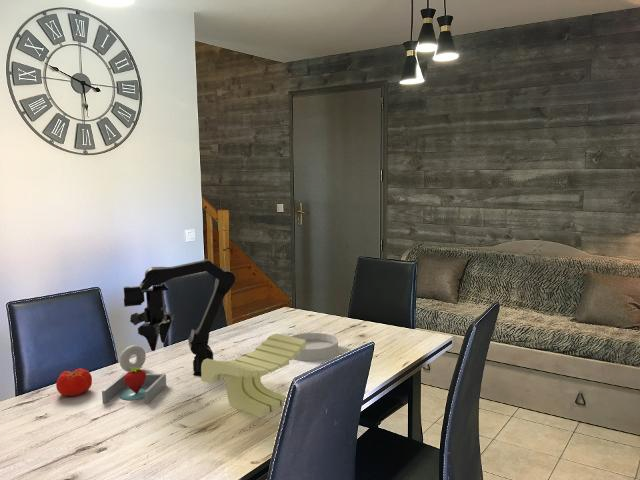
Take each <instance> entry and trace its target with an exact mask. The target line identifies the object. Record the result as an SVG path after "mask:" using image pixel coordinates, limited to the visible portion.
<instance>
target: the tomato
mask: <svg viewBox="0 0 640 480" xmlns="http://www.w3.org/2000/svg"><path fill="white" fill-rule="evenodd" d="M55 384H56V385H55V387H56V388H55V389H56V390H57V393H59V394H60V395H61V396H65V397H66V396H67V397H69V396H71V397H75V396H77V397H78V396H79V395H81V394H82V393H85V392H87V391H88V390H89V389H90V388H91V387H92V384H93V377H92V374H91V373H90V371H89V370H87V369H84V368H76V369H74V370H73V371H71V370H70V371H69V370H65V371H63V372H61V373H60V375H59V377H58V378H57V380H56V383H55Z"/></svg>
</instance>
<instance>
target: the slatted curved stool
mask: <svg viewBox="0 0 640 480" xmlns="http://www.w3.org/2000/svg"><path fill="white" fill-rule="evenodd" d="M305 348H306V340H304V339H299V338H295V337H290V335H284V334H280V333H273V334H271V335H270V336H269V335H268V337H267V338H266V339H265V340H264V341H262V342H261V344H260V345H258V346H256V348H255V349H254V350H253V351H250V352H248V353H247V354H245V356H244V355H243V356H240V357H237V358H234V359H231V360H227V361H226V360H225V361H224V360H215V359H213V360H211V359H208V358H207V359H205V360H204V361H203V362H202V365H201V374H202V375H201V382H204V383H208V384H210V385H213V384H214V383H215V382H217V379H218V380H222V379H223V381H224V383H225V387H226V394H227V395H226V396H227V401H228V403H229V405H230V407H233V408H235V409H238V410H241V411H243V412H247V413H249V414H251V415H255V416H257V417H260V418H262V417H264V416H266V415H268V414H270V413H271V412H274V411H275V410H277V409H279V408H280V407H281V406H285V405H284V402H285V399H286V395H283V394H280V393H278V392H275V391H273V390H271V389H269V388H268V387H266V386H265V385H264V384H263V383H262V382H261V378H262V377H264V376H266V375H268V374H269V373H272V372H275V371H277V370H279V369H280V368H281V369H282V368H284V367H286V366H288V365H290V361H293V360H294V359H295V355H298V354H300V349H301V350H303V349H305Z"/></svg>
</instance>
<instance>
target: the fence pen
mask: <svg viewBox="0 0 640 480" xmlns="http://www.w3.org/2000/svg"><path fill="white" fill-rule="evenodd" d="M126 374H127V373H122V374H121V375H120V376H119V377H117V378H116V379H115V380H113V381H112V382H111V383H110V384H109V385H107V386H106V387H105V388H103V389H102V390H101V396H102V403H103V404H106V403H108V402H109V401H110V400H112V399H113V398H114V396H116V395H117V394H118V393H119V392H120V394H119V398H120V399H121V400H124V401H135V400H140V399H144V404H145V405H148V404H150V403H151V402H152V401H153V400H154V399H155V398H156V397H157V396H158V394H159V393H160V392H161V391H162V390H163V389H165V387H166V386H167V374H166V373H146V378H145V381H144V383H143V385H142V387H141V388H140V390H139V392H138V393H134V391H132V390H131V389H130V388H128V389H125V390H123V389H124V388H125V387H128V386H127V385H126V383H125V381H124V378H125V375H126ZM122 390H123V391H122ZM121 391H122V392H121Z"/></svg>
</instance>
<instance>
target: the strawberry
mask: <svg viewBox="0 0 640 480" xmlns="http://www.w3.org/2000/svg"><path fill="white" fill-rule="evenodd" d="M134 365H135V364H134ZM135 366H136V365H135ZM136 367H137V366H136ZM142 368H143V366H142V367H139V368H131V369H132V370H129V371H130V372H129V371H126V373H125V374H126V375H125V378H124V381H125V383H126V385H127V386H126V387H128V389H131V390H132V391H134V393H138V392H139V390H140V388H141V387H143V386H142V385H143V383H144V381H145V378H146V374H147V373H146V371H145V370H144V369H142Z"/></svg>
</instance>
